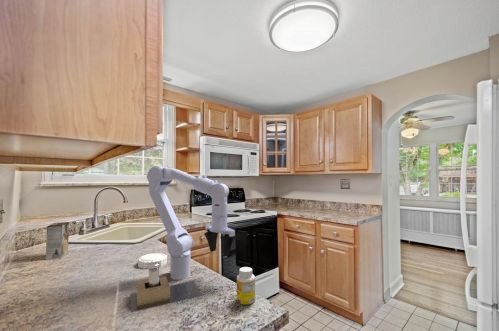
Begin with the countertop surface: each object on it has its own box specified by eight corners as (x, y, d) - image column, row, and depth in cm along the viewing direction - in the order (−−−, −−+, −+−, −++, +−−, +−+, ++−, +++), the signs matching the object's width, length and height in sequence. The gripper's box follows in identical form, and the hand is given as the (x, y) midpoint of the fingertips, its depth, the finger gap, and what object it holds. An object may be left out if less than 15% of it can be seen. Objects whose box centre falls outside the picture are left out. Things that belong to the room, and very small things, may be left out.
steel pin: (147, 296, 74) (146, 263, 75) (160, 293, 76) (160, 261, 77) (147, 301, 70) (147, 266, 71) (161, 298, 72) (161, 264, 73)
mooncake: (138, 262, 108) (138, 254, 109) (165, 258, 113) (165, 250, 113) (137, 271, 97) (137, 262, 98) (167, 266, 102) (168, 258, 102)
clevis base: (130, 296, 76) (131, 280, 76) (192, 283, 85) (192, 269, 85) (130, 315, 65) (131, 297, 65) (202, 298, 74) (202, 282, 74)
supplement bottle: (237, 299, 74) (237, 265, 74) (255, 299, 74) (254, 265, 74) (236, 308, 68) (236, 272, 69) (255, 308, 68) (255, 272, 69)
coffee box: (52, 254, 119) (54, 222, 120) (68, 253, 121) (69, 221, 122) (45, 260, 111) (46, 225, 112) (61, 258, 113) (63, 224, 114)
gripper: (199, 215, 89) (198, 251, 89) (224, 219, 80) (224, 260, 79) (213, 213, 95) (213, 247, 94) (239, 216, 85) (239, 255, 84)
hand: (219, 253), depth 87 cm, fingers open, 7 cm apart
